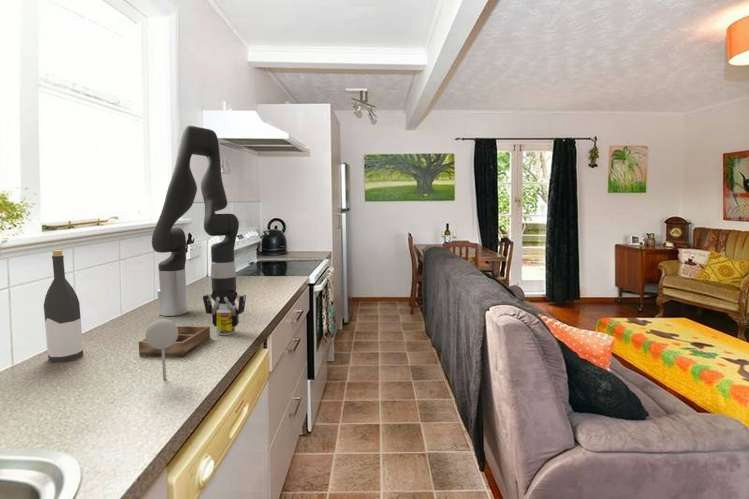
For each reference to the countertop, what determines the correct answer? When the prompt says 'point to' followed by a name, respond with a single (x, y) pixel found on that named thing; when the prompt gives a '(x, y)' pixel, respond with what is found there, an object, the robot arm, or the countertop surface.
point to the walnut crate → (179, 342)
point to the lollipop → (162, 337)
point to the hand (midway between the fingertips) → (225, 325)
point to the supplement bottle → (224, 320)
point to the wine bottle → (62, 316)
